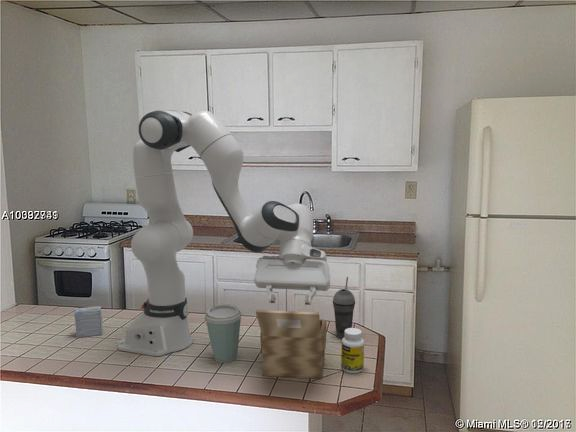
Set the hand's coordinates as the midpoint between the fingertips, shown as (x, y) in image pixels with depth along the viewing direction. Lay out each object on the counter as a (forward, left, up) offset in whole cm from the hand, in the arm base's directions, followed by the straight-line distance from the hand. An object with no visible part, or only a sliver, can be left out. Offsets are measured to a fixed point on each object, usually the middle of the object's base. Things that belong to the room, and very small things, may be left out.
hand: (289, 303), depth 125 cm
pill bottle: (+16, +8, -21) cm, 28 cm away
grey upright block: (-70, +22, -21) cm, 76 cm away
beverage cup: (+13, +30, -21) cm, 39 cm away
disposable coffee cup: (-21, +10, -21) cm, 31 cm away
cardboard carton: (0, +7, -21) cm, 22 cm away
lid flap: (0, -3, -4) cm, 5 cm away
